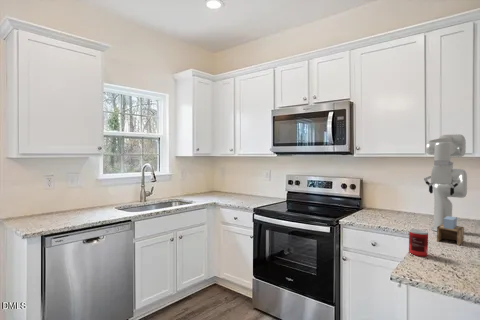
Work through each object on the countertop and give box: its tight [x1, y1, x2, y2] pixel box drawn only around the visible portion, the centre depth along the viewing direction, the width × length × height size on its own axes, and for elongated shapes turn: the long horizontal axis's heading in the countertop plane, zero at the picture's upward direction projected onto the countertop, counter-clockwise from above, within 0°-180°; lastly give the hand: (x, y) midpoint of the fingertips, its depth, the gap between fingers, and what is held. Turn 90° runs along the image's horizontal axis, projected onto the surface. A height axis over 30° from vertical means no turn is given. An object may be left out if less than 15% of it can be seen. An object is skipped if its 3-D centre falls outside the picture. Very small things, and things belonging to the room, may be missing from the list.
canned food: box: [408, 228, 429, 258], centre depth 141 cm, size 8×8×11 cm
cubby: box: [436, 224, 465, 246], centre depth 166 cm, size 12×10×8 cm
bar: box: [443, 216, 458, 229], centre depth 166 cm, size 12×4×5 cm, turn 137°
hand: (441, 194), depth 169 cm, fingers open, 9 cm apart
